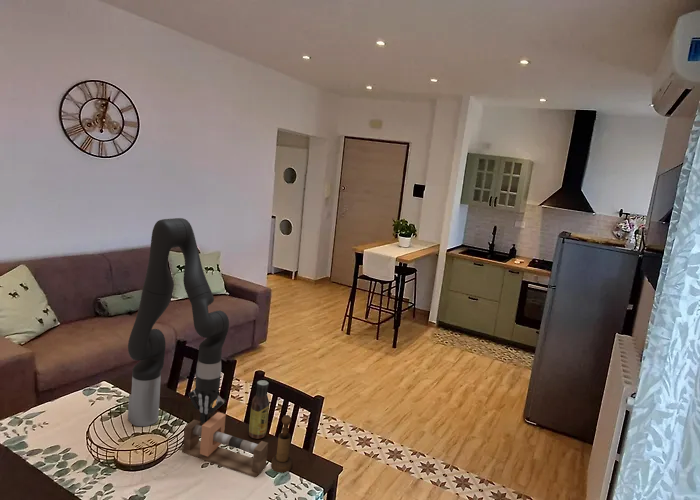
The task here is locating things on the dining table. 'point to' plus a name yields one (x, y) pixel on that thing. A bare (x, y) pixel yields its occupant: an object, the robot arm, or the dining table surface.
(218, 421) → the collar
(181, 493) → the dining table surface
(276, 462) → the wooden pepper mill
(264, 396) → the sauce bottle
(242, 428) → the dining table surface
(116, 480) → the dining table surface
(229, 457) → the pipe stand
